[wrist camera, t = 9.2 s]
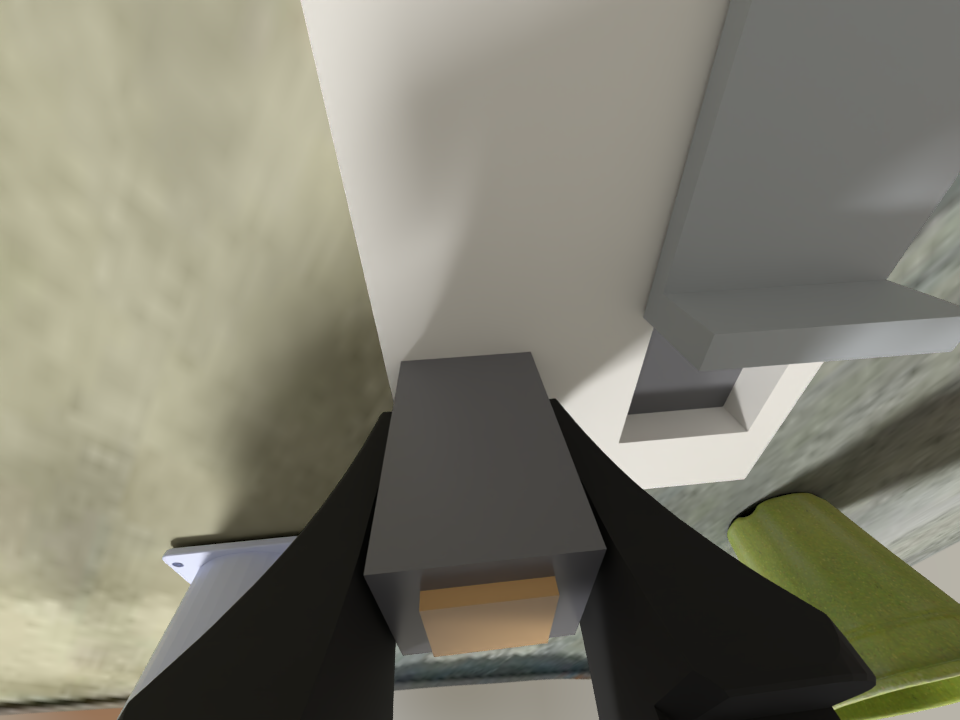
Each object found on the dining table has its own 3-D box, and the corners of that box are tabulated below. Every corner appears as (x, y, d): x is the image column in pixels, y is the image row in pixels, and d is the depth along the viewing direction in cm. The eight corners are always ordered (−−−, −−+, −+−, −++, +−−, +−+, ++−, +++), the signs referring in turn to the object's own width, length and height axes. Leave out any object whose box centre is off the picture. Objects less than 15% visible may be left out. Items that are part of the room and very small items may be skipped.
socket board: (716, 445, 17) (744, 479, 16) (421, 472, 17) (418, 511, 15) (960, -1, 8) (1088, -31, 7) (327, 8, 7) (294, -25, 6)
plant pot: (704, 498, 20) (844, 699, 13) (873, 455, 19) (1124, 648, 12) (696, 564, 26) (793, 734, 18) (828, 533, 25) (984, 700, 17)
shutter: (844, 303, 10) (951, 351, 8) (642, 317, 10) (698, 371, 8) (1080, -66, 6) (1427, -169, 4) (748, -65, 6) (932, -178, 4)
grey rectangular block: (524, 439, 13) (579, 651, 8) (418, 449, 13) (401, 672, 8) (530, 351, 11) (613, 567, 5) (401, 360, 10) (359, 596, 5)
